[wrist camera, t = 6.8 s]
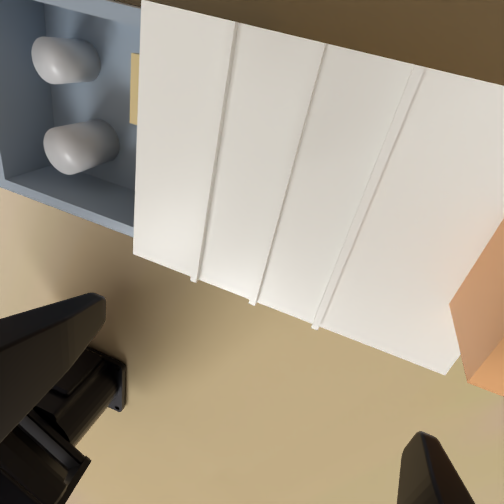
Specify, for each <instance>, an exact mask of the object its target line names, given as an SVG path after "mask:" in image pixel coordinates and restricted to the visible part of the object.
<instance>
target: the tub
mask: <svg viewBox="0 0 504 504" xmlns="http://www.w3.org/2000/svg"><path fill="white" fill-rule="evenodd" d="M140 26H141V7H138V6H134V5H130V4H126V3H122V2H118V1H114V0H0V187H1V188H4V189H7V190H9V191H12V192H15V193H17V194H20V195H23V196H25V197H28V198H30V199H33V200H36V201H38V202H41V203H44V204H46V205H49V206H52V207H54V208H57V209H59V210H62V211H65V212H67V213H70V214H73V215H75V216H78V217H81V218H83V219H86V220H89V221H91V222H94V223H96V224H99V225H102V226H104V227H107V228H110V229H112V230H115V231H118V232H120V233H123V234H125V235H128V236H131V237H134V206H135V176H136V146H137V116H138V86H139V56H140Z"/></svg>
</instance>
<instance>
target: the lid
mask: <svg viewBox="0 0 504 504" xmlns="http://www.w3.org/2000/svg"><path fill="white" fill-rule="evenodd" d="M133 254H134V255H137V256H139V257H142V258H144V259H147V260H150V261H152V262H155V263H157V264H160V265H162V266H165V267H168V268H170V269H173V270H175V271H178V272H180V273H183V274H186V275H188V276H191V279H190V281H192V282H195V283H196V282H197V281H198V280H201V281H204V282H206V283H209V284H211V285H214V286H216V287H219V288H222V289H224V290H227V291H229V292H232V293H234V294H237V295H240V296H242V297H245V298H247V299H250V300H249V304H251V305H254V306H255V305H256V303H257V302H258V303H260V304H263V305H265V306H268V307H271V308H273V309H276V310H278V311H281V312H283V313H286V314H289V315H291V316H294V317H296V318H299V319H301V320H304V321H307V322H309V323H312V327H311V328H313V329H315V330H318V328H319V327H322V328H325V329H327V330H330V331H332V332H335V333H337V334H340V335H343V336H345V337H348V338H350V339H353V340H355V341H358V342H361V343H363V344H366V345H368V346H371V347H373V348H376V349H379V350H381V351H384V352H386V353H389V354H392V355H394V356H397V357H399V358H402V359H404V360H407V361H410V362H412V363H415V364H417V365H420V366H422V367H425V368H428V369H430V370H433V371H435V372H438V373H440V374H443V375H446V373H447V372H448V371H449V369H450V368H451V367H452V365H453V364H454V362H455V361H456V360H457V358H458V357H459V356H460V354H461V357H462V362H463V366H464V370H465V374H466V379H467V383H470V384H472V385H475V386H478V387H480V388H483V389H485V390H488V391H490V392H493V393H496V394H498V395H501V396H503V397H504V86H502V85H498V84H494V83H490V82H486V81H481V80H477V79H473V78H469V77H465V76H460V75H456V74H452V73H448V72H444V71H440V70H435V69H431V68H427V67H423V66H419V65H414V64H410V63H406V62H402V61H398V60H393V59H389V58H385V57H381V56H377V55H373V54H368V53H364V52H360V51H356V50H352V49H347V48H343V47H339V46H335V45H331V44H327V43H322V42H318V41H314V40H310V39H306V38H301V37H297V36H293V35H289V34H285V33H280V32H276V31H272V30H268V29H264V28H259V27H255V26H251V25H247V24H243V23H239V22H235V21H230V20H226V19H222V18H218V17H213V16H209V15H205V14H201V13H197V12H192V11H188V10H184V9H180V8H176V7H171V6H167V5H163V4H159V3H155V2H151V1H146V0H141V26H140V56H139V86H138V116H137V146H136V176H135V206H134V237H133Z"/></svg>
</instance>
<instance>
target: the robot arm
mask: <svg viewBox="0 0 504 504" xmlns="http://www.w3.org/2000/svg"><path fill="white" fill-rule="evenodd" d="M105 318H106V299H105V298H104V297H103V296H101V295H98V294H96V293H87V294H84V295H80V296H77V297H73V298H70V299H67V300H63V301H60V302H56V303H53V304H50V305H46V306H43V307H39V308H36V309H32V310H29V311H26V312H22V313H19V314H15V315H12V316H9V317H5V318H2V319H0V504H65V503H66V501H67V500H68V498H69V496H70V495H71V493H72V492H73V490H74V488H75V487H76V485H77V483H78V482H79V480H80V479H81V477H82V475H83V474H84V472H85V470H86V469H87V467H88V466H89V464H90V462H91V460H90V459H89V458H88V457H87V456H84V455H83V454H82V453H81V452H80V451H78V450H77V449H76V448H75V446H76V445H77V443H78V442H79V441H80V440H81V439H82V437H83V436H84V435H85V434H86V432H87V431H88V430H89V429H90V428H91V426H92V425H93V424H94V423H95V421H96V420H97V419H98V418H99V417H100V415H101V414H102V413H103V412H104V411H105V409H106V408H107V407H109V408H112V409H114V410H116V411H118V412H121V411H122V410H123V409H124V405H125V365H124V364H123V363H122V362H120V361H118V360H116V359H113V358H111V357H109V356H107V355H105V354H102V353H100V352H98V351H96V350H94V349H91V348H89V347H87V346H88V344H89V343H90V342H91V340H92V339H93V338H94V337H95V335H96V334H97V333H98V331H99V330H100V329H101V327H102V326H103V324H104V322H105ZM397 504H475V502H474V501H473V499H472V497H471V496H470V494H469V492H468V490H467V489H466V487H465V485H464V484H463V482H462V480H461V478H460V477H459V475H458V473H457V471H456V470H455V468H454V466H453V465H452V463H451V461H450V459H449V458H448V456H447V454H446V452H445V451H444V449H443V447H442V446H441V444H440V442H439V441H438V439H437V438H436V437H434V436H432V435H429V434H427V433H425V432H422V431H419V432H417V433H416V434H415V435H414V437H413V438H412V439H411V441H410V442H409V443H408V444H407V446H406V447H405V449H404V451H403V453H402V458H401V468H400V478H399V488H398V498H397Z"/></svg>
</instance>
